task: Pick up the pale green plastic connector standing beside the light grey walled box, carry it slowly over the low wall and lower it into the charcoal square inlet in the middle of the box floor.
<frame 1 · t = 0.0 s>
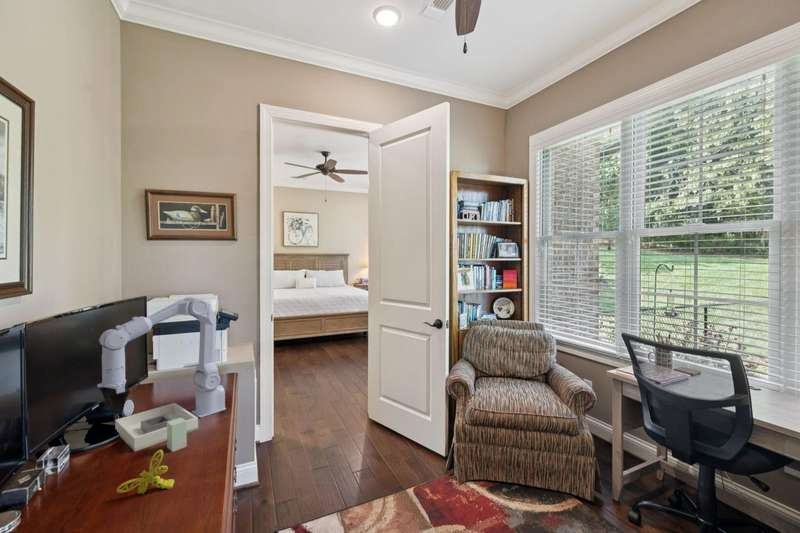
hand: (114, 410, 113), 10 cm above the table, fingers open, 7 cm apart
decorative insect: (146, 491, 89), on the table
box: (157, 430, 120), on the table
connector: (177, 447, 110), on the table
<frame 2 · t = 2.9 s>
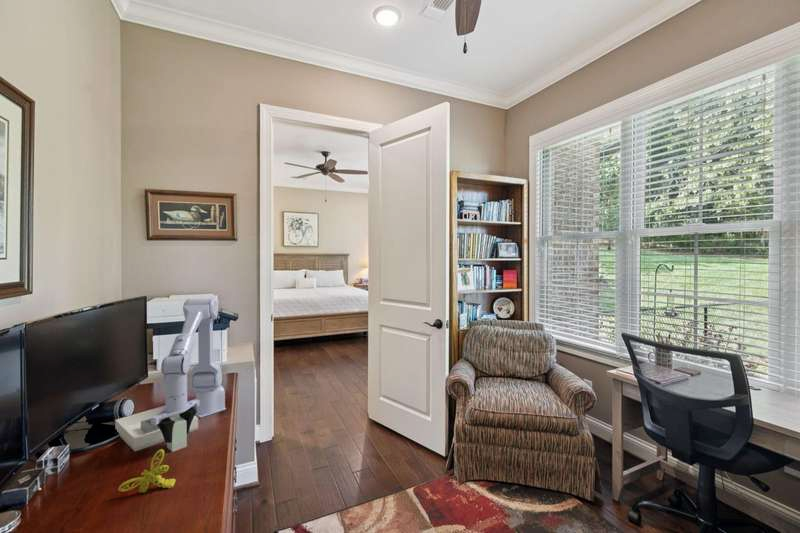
hand: (176, 437, 110), 3 cm above the table, fingers closed on connector, 5 cm apart
connector: (177, 446, 110), on the table, touching gripper
everything else where it was.
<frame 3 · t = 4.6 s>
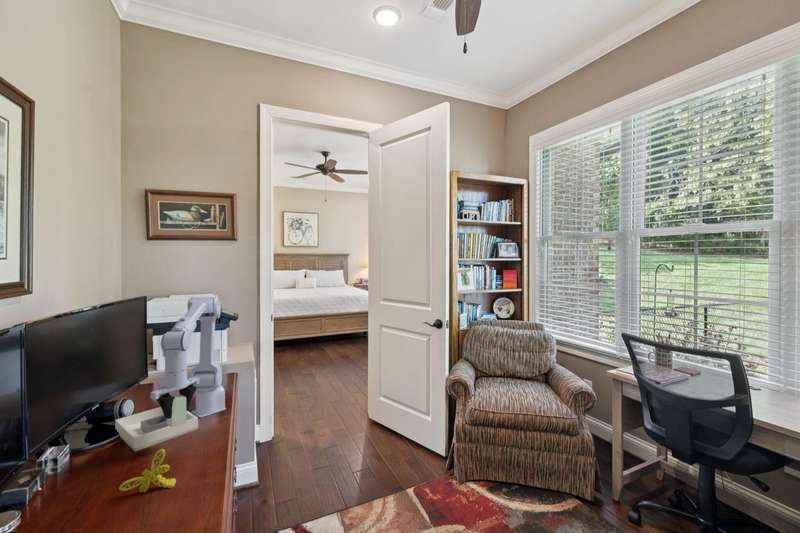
hand: (176, 414, 109), 10 cm above the table, fingers closed on connector, 5 cm apart
connector: (176, 423, 110), point 7 cm above the table, touching gripper
everything else where it was.
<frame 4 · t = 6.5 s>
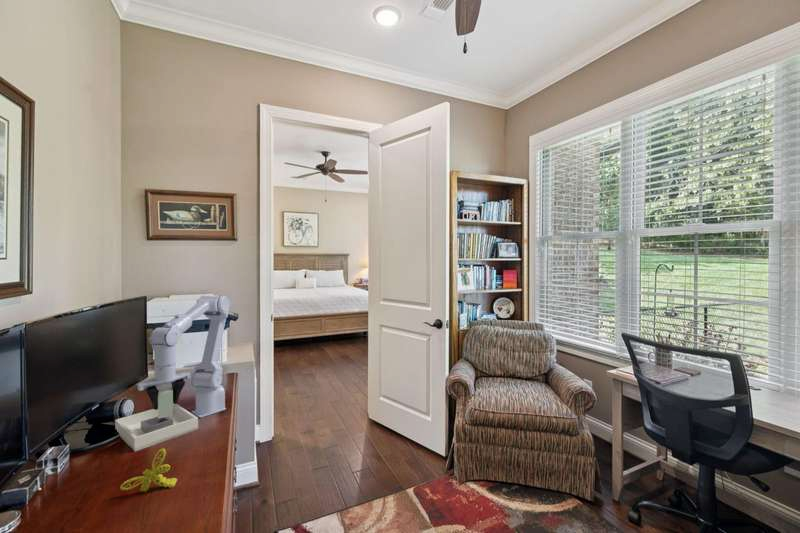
hand: (165, 405, 115), 10 cm above the table, fingers closed on connector, 5 cm apart
connector: (165, 414, 115), point 7 cm above the table, touching gripper
everything else where it was.
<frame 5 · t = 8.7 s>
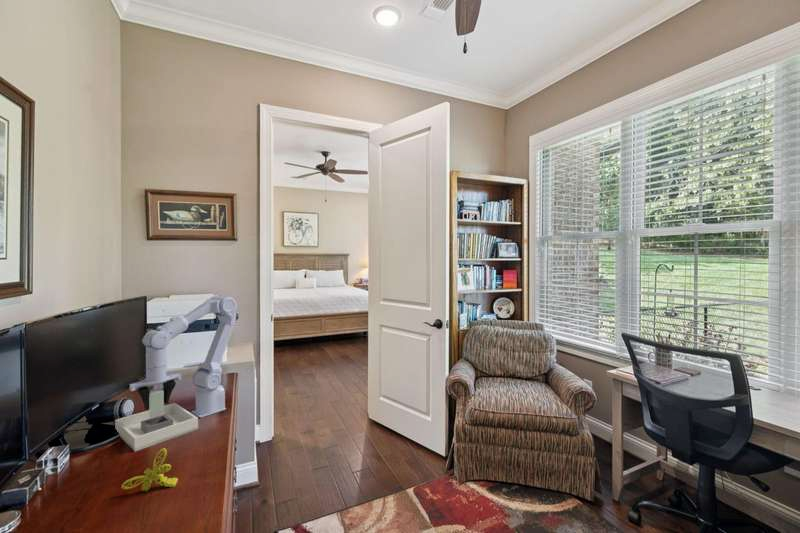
hand: (156, 405, 120), 8 cm above the table, fingers closed on connector, 5 cm apart
connector: (156, 414, 120), point 5 cm above the table, touching gripper
everything else where it was.
when the fingers open (5 cm above the table, at t = 10.4 s): connector stays where it is, resting on box.
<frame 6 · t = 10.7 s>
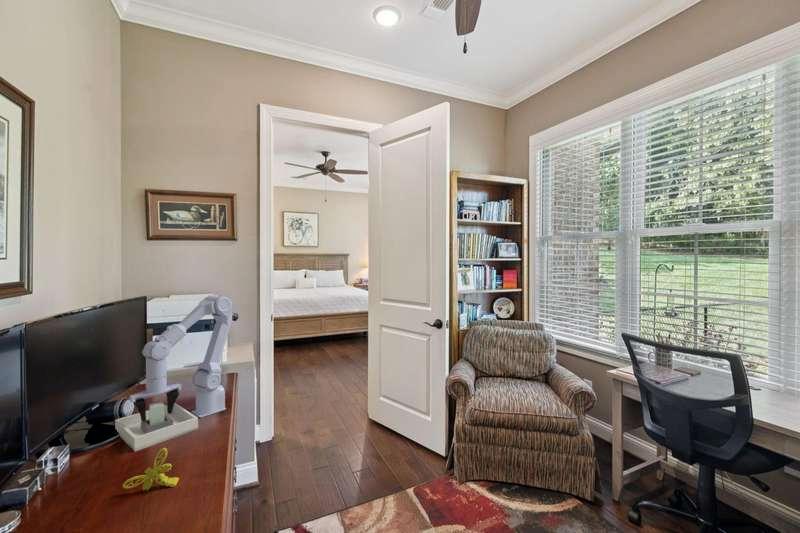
hand: (156, 416, 120), 5 cm above the table, fingers open, 7 cm apart
connector: (157, 428, 120), point 1 cm above the table, touching box
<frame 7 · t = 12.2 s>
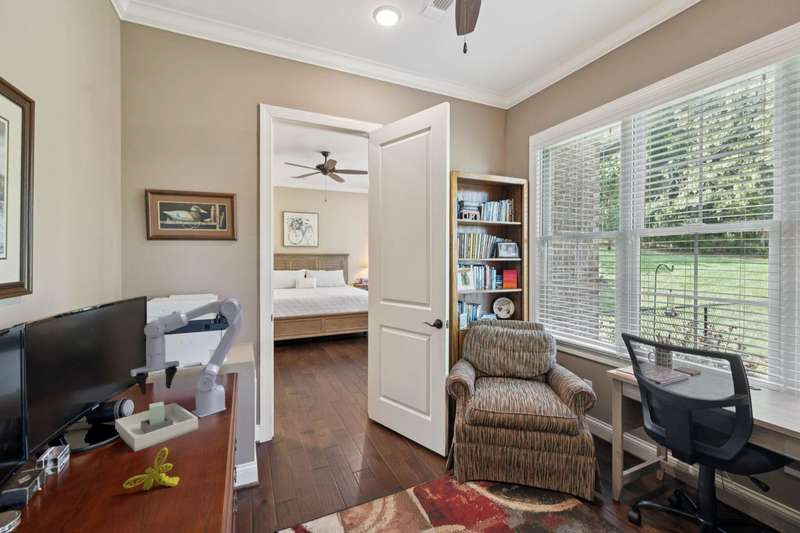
hand: (156, 390, 128), 10 cm above the table, fingers open, 7 cm apart
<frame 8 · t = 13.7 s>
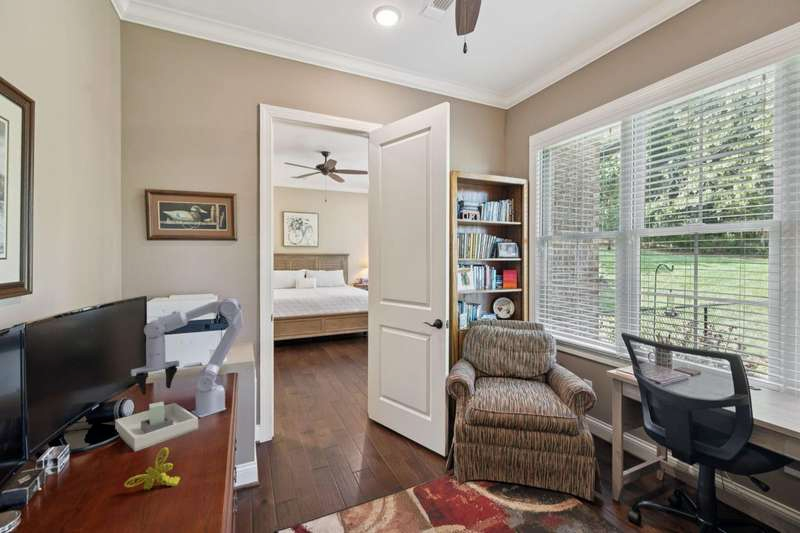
hand: (156, 390, 128), 10 cm above the table, fingers open, 7 cm apart
at the end: connector 0.0 cm off-centre on the box, point 0.8 cm above the box's base; connector tilted 0°; the gripper is holding nothing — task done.
